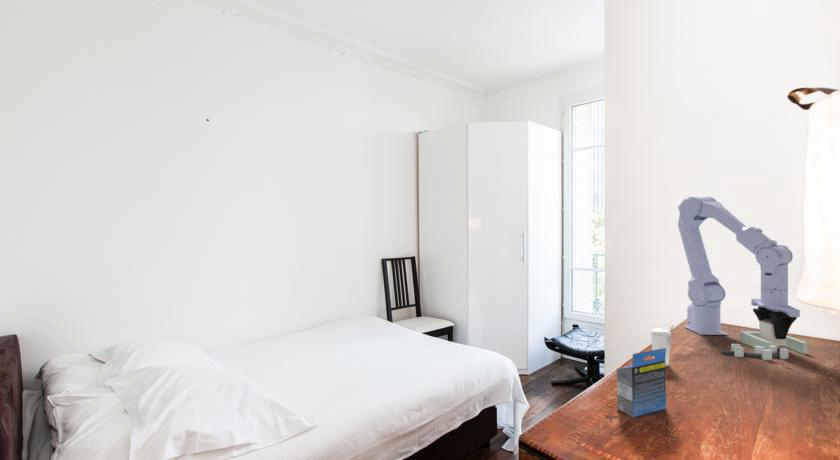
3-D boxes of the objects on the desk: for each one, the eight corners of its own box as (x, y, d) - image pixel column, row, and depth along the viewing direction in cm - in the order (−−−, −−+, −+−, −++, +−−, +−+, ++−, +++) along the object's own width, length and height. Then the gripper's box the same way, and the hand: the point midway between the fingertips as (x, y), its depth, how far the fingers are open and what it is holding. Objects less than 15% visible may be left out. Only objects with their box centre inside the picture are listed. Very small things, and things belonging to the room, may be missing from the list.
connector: (774, 341, 112) (774, 318, 112) (786, 345, 108) (786, 322, 108) (759, 341, 113) (759, 318, 113) (771, 345, 109) (770, 322, 109)
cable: (719, 352, 108) (719, 349, 108) (786, 353, 106) (786, 350, 106) (729, 357, 104) (729, 354, 104) (798, 358, 102) (798, 355, 102)
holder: (739, 341, 117) (739, 331, 117) (776, 341, 116) (776, 331, 116) (767, 353, 107) (767, 342, 107) (807, 354, 106) (807, 343, 106)
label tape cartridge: (649, 401, 81) (649, 342, 80) (667, 409, 77) (666, 347, 77) (616, 409, 78) (616, 347, 77) (633, 418, 74) (633, 354, 74)
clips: (727, 352, 108) (727, 343, 108) (775, 353, 107) (775, 344, 107) (741, 359, 103) (741, 350, 102) (793, 360, 101) (793, 350, 101)
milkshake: (678, 367, 98) (678, 327, 98) (657, 367, 98) (657, 328, 98) (667, 360, 103) (667, 323, 102) (647, 361, 103) (646, 323, 103)
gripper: (740, 284, 118) (740, 329, 118) (779, 293, 103) (779, 344, 104) (765, 284, 117) (765, 329, 117) (808, 293, 103) (808, 344, 103)
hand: (773, 336), depth 111 cm, fingers closed on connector, 4 cm apart
